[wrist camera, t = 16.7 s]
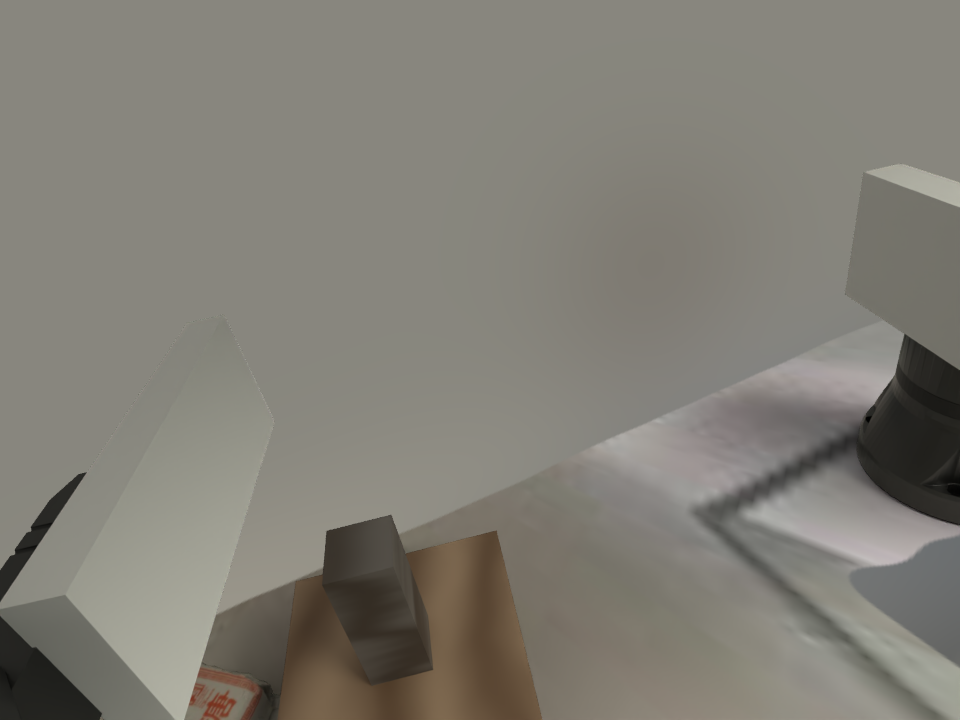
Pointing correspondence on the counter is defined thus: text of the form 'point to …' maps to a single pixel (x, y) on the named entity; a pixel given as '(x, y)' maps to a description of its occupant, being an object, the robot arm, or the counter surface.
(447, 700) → the board with upright post
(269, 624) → the counter surface
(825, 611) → the counter surface
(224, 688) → the packaged product
